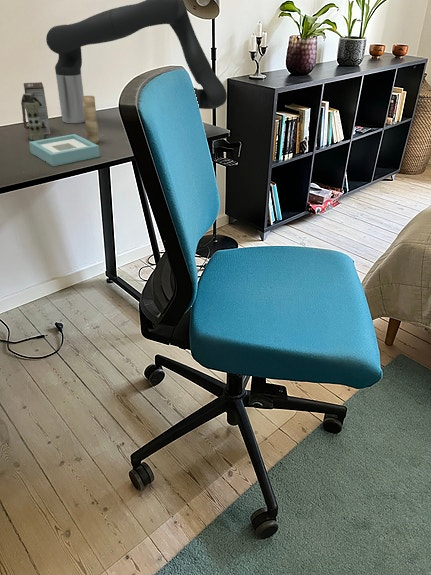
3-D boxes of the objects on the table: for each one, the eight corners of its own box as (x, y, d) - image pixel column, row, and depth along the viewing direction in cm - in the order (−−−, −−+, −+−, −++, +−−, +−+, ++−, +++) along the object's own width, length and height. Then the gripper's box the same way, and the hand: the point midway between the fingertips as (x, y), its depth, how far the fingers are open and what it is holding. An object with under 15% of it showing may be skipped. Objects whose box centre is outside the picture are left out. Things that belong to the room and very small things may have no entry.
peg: (85, 141, 164) (79, 96, 155) (95, 139, 166) (90, 95, 158) (90, 144, 161) (85, 98, 153) (101, 142, 163) (96, 97, 155)
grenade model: (49, 136, 167) (42, 92, 159) (38, 142, 161) (30, 96, 153) (33, 134, 168) (26, 90, 160) (22, 139, 163) (13, 94, 154)
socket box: (30, 152, 152) (28, 141, 150) (76, 144, 161) (74, 133, 159) (53, 166, 142) (51, 155, 140) (99, 156, 151) (98, 145, 149)
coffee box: (31, 128, 174) (22, 82, 165) (49, 127, 176) (41, 82, 167) (32, 135, 167) (24, 87, 158) (51, 134, 169) (44, 87, 160)
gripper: (165, 83, 167) (119, 85, 162) (174, 91, 155) (124, 93, 151) (166, 105, 171) (121, 107, 167) (174, 115, 159) (126, 117, 155)
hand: (123, 101), depth 159 cm, fingers open, 8 cm apart
